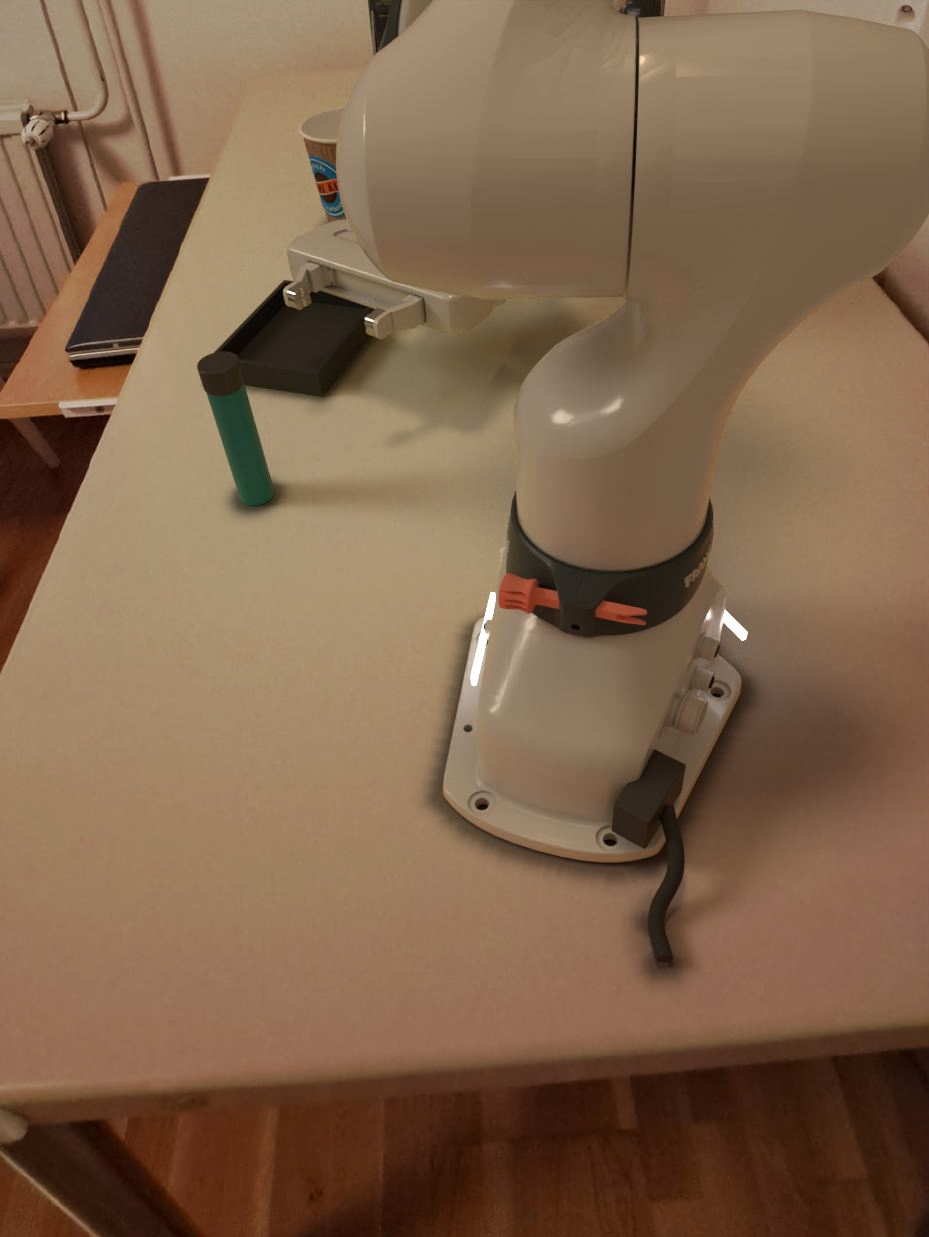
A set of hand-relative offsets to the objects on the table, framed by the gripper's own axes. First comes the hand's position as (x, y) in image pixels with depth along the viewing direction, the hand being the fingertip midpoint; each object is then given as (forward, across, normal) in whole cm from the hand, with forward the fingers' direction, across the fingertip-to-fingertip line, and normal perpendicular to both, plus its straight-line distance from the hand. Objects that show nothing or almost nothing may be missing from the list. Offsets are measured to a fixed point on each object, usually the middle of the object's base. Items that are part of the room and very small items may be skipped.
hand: (329, 314), depth 79 cm
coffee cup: (-32, -27, +12) cm, 43 cm away
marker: (+12, 0, +11) cm, 16 cm away
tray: (-8, -13, +11) cm, 19 cm away
